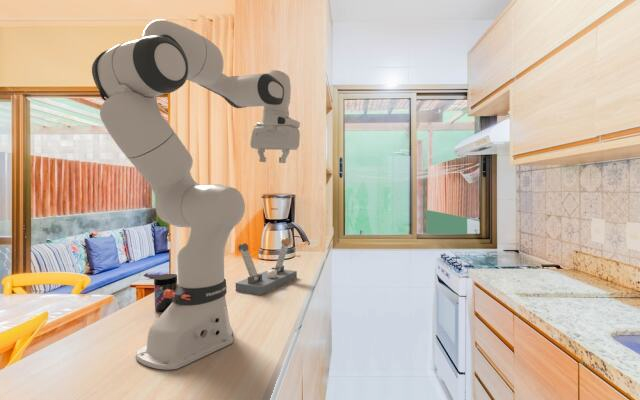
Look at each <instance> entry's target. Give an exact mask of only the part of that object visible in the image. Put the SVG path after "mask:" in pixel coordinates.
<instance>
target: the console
mask: <svg viewBox="0 0 640 400" xmlns="http://www.w3.org/2000/svg"><path fill="white" fill-rule="evenodd" d="M272 269H274V270H277V278H268V270H266V271H265V270H264V271H262V272H260V273H257V274H258V275H259V277H260V280H258V281H256V282H254V277H250V276H247V278H244V279H243V280H239V281H238V282H235V292H239V293H245V294H252V295H256V296H257V295H258V296H264V295H265V294H267V293H269V292H272V291H274V290H275V289H277V288H279V287H282V286H283V285H287V284H288V283H291V282H292V281H294V280H296V279H297V277H298V275H297V274H298V273H297V272H298V271H297V270H291V269H290V270H289V269H285V265H284V264H283V265H282V271H280V272H278V268H275V267H271V268H270V269H269V270H272Z"/></svg>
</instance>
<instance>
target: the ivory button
mask: <svg viewBox="0 0 640 400" xmlns="http://www.w3.org/2000/svg"><path fill="white" fill-rule="evenodd" d="M271 269H272V268H271ZM267 271H268V278H277V270H274V269H272V270H270V269H268V270H267Z"/></svg>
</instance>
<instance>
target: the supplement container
mask: <svg viewBox="0 0 640 400" xmlns="http://www.w3.org/2000/svg"><path fill="white" fill-rule="evenodd" d="M177 284H178V274H176V273H165V274H159V275H157V276H155V277H153V286H154V287H153V288H154V310H155V311H156V312H158V313H163V312H164V311H165V310H166V309H167V308H168V307H169V305H170V304H171V303H172V302H173V301H172V299H173V298H171V299H169V298H165V297H163V296H164V295H163V294H164V293H163V292H164V291H165V290H166V289H169V290H173V291H174V292H175V289H176V286H177Z"/></svg>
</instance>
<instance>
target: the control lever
mask: <svg viewBox="0 0 640 400" xmlns="http://www.w3.org/2000/svg"><path fill="white" fill-rule="evenodd" d="M280 243H281V247H280V251H279V253H278V257H277V260H276V264H275V267H274V268H278V272H280V271H282V265H283V266H284V262H285V259H286V255H287V251H288V248H289V246H290V245H291V239H290V238H289V237H284V238H282V239H281V242H280Z"/></svg>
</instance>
